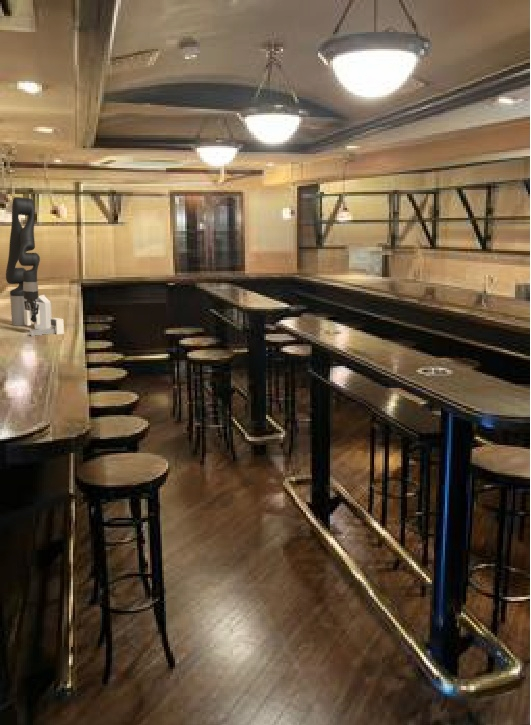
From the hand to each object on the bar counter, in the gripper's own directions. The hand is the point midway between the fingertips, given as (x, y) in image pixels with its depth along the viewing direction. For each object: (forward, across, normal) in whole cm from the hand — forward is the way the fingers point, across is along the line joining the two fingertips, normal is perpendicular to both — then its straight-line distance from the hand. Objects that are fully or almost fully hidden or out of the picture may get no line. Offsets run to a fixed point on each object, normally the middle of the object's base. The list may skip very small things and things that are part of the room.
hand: (32, 321), depth 340 cm
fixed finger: (+6, +11, +9) cm, 15 cm away
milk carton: (+7, -9, +10) cm, 15 cm away
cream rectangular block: (+2, 0, 0) cm, 2 cm away
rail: (+6, +11, +3) cm, 13 cm away
